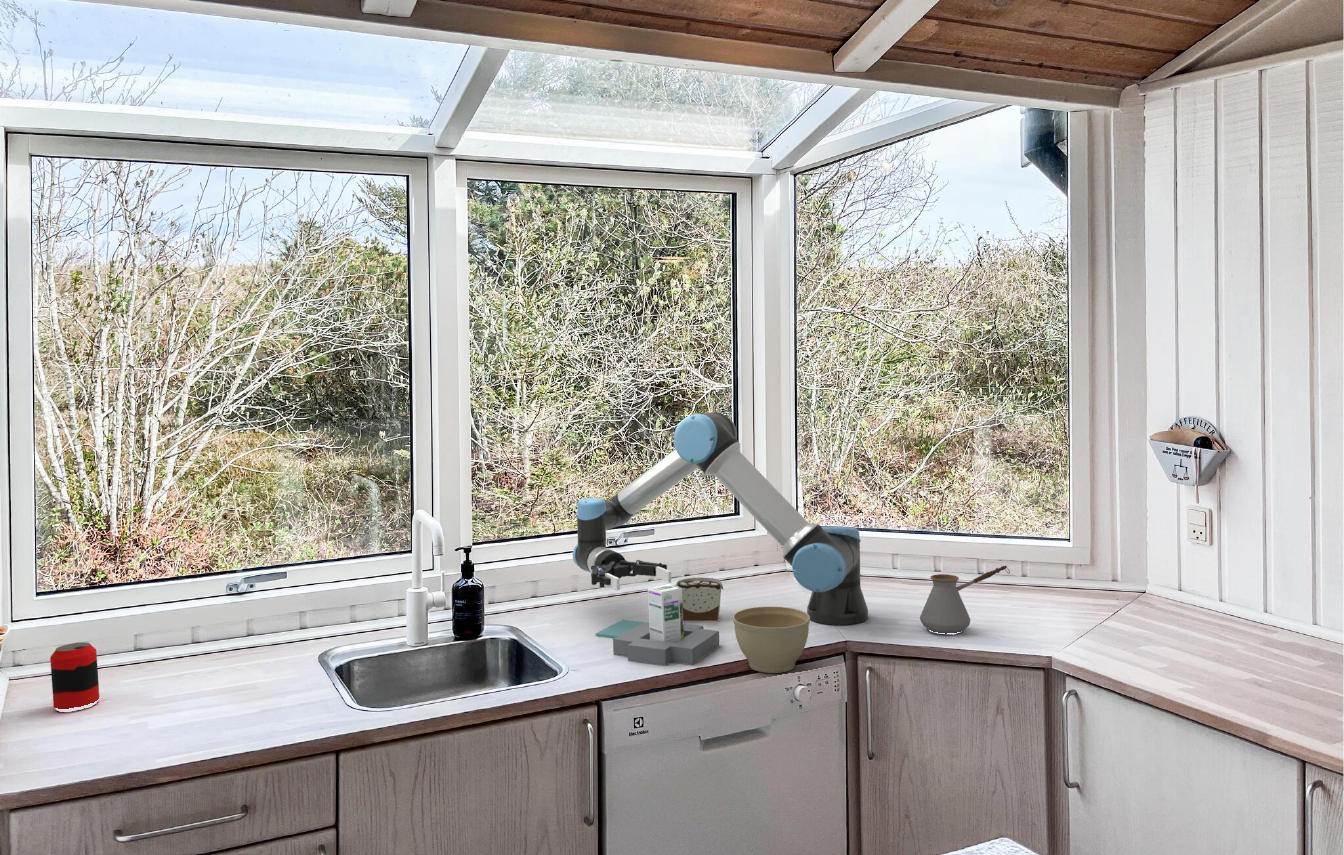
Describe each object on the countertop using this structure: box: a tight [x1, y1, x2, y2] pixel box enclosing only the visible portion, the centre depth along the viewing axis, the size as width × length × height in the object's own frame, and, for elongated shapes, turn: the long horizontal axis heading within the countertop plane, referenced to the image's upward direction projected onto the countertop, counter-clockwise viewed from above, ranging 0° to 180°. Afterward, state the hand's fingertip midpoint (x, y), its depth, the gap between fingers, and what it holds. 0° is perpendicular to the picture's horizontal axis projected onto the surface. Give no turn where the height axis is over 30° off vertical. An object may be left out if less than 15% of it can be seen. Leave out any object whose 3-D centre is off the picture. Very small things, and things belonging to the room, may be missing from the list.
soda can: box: [49, 641, 100, 709], centre depth 176 cm, size 8×8×12 cm
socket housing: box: [612, 622, 720, 666], centre depth 201 cm, size 20×20×4 cm
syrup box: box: [647, 583, 684, 643], centre depth 201 cm, size 6×6×14 cm
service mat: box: [595, 619, 649, 639], centre depth 217 cm, size 13×13×1 cm
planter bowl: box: [732, 605, 811, 674], centre depth 188 cm, size 16×16×11 cm
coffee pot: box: [919, 565, 1011, 634], centre depth 210 cm, size 21×12×15 cm, turn 93°
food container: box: [675, 576, 725, 623], centre depth 227 cm, size 12×6×10 cm, turn 84°
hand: (644, 580), depth 209 cm, fingers open, 13 cm apart
